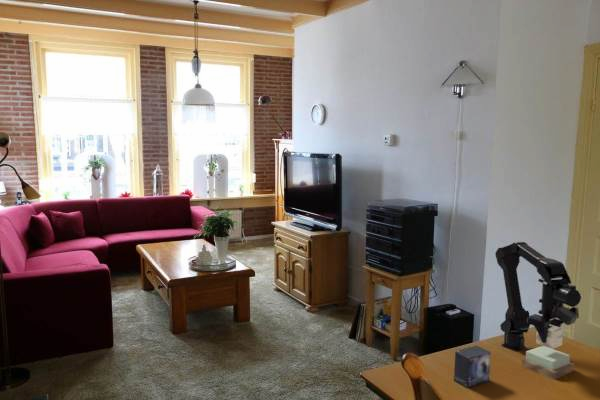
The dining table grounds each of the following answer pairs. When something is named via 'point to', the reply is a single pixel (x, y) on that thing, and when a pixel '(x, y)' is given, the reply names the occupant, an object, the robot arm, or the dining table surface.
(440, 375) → the dining table surface
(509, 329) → the robot arm
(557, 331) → the cream cube
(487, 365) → the small box
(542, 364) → the sage slab
